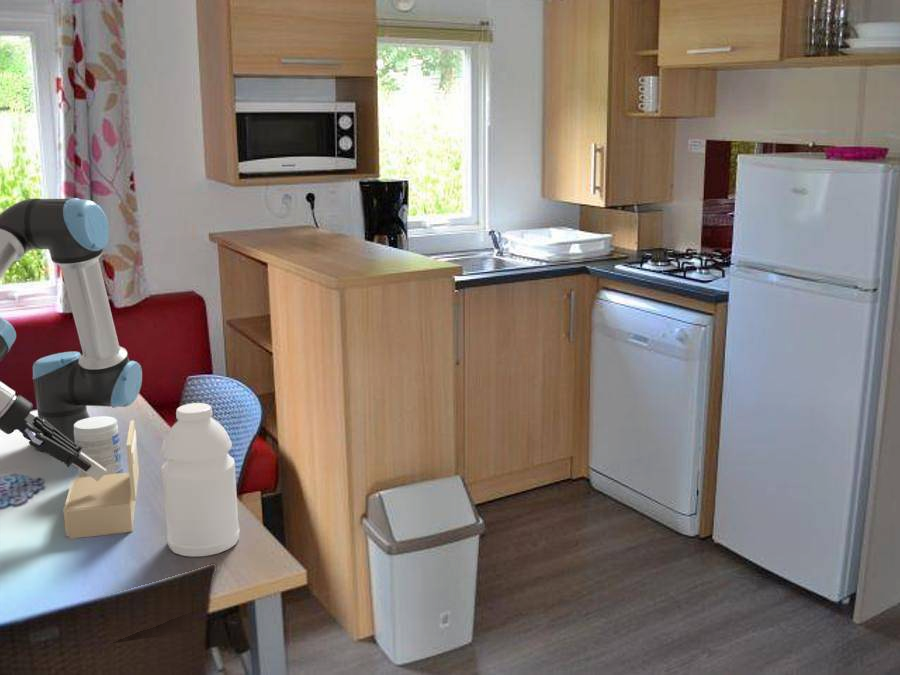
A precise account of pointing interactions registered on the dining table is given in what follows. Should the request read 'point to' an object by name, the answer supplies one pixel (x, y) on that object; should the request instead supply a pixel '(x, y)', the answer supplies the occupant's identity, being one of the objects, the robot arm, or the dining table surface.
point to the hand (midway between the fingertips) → (102, 475)
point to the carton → (99, 506)
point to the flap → (132, 459)
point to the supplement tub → (99, 442)
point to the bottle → (199, 484)
